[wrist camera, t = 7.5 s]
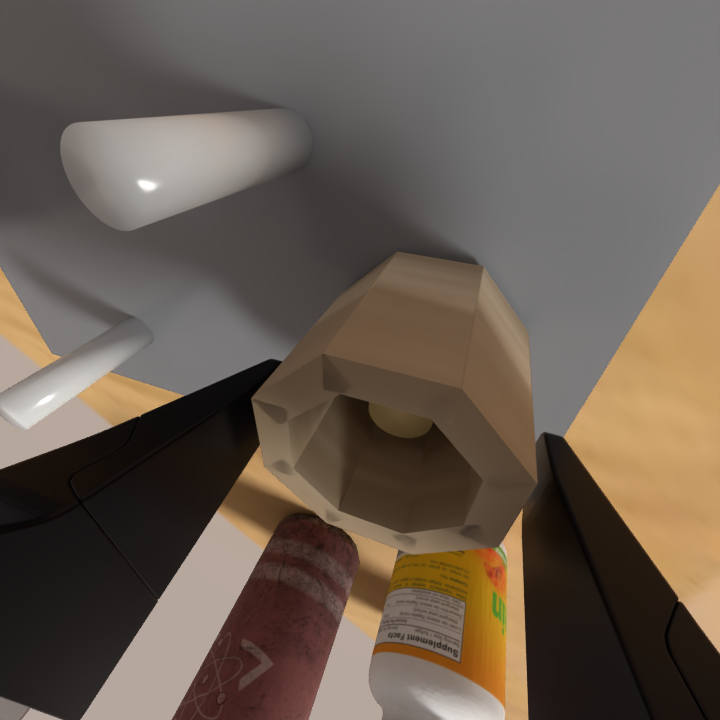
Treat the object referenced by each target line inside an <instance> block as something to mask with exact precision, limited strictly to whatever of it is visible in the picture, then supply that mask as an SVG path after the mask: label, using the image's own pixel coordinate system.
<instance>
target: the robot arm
mask: <svg viewBox="0 0 720 720" xmlns="http://www.w3.org/2000/svg"><path fill="white" fill-rule="evenodd" d="M282 362H283V361H279V360H276V359H268V360H266V361H263V362H261V363H259V364H257V365H254V366H252V367H250V368H247V369H245V370H243V371H241V372H238V373H236V374H234V375H231V376H229V377H227V378H225V379H222V380H220V381H218V382H215V383H213V384H211V385H209V386H206V387H204V388H202V389H199V390H197V391H195V392H193V393H190V394H188V395H186V396H183V397H181V398H179V399H177V400H174V401H172V402H170V403H167V404H165V405H163V406H161V407H158V408H156V409H154V410H151V411H149V412H147V413H144V414H142V415H141V416H140V417H135V418H133V419H131V420H128V421H126V422H124V423H121V424H119V425H117V426H114V427H112V428H109V429H107V430H105V431H102V432H100V433H97V434H95V435H92V436H90V437H87V438H85V439H82V440H80V441H77V442H74V443H71V444H69V445H66V446H63V447H60V448H58V449H55V450H52V451H49V452H47V453H44V454H41V455H39V456H36V457H33V458H31V459H28V460H25V461H22V462H19V463H17V464H14V465H11V466H8V467H6V468H3V469H0V720H21V719H22V718H23V717H24V716H25V714H26V713H27V712H28V711H29V709H30V708H32V709H35V710H37V711H40V712H43V713H46V714H49V715H51V716H54V717H57V718H59V719H62V720H80V719H81V718H82V716H83V715H84V714H85V712H86V711H87V709H88V708H89V706H90V705H91V703H92V701H93V700H94V698H95V697H96V695H97V694H98V692H99V691H100V689H101V688H102V686H103V684H104V683H105V682H106V680H107V678H108V677H109V675H110V674H111V672H112V671H113V669H114V668H115V666H116V664H117V663H118V662H119V660H120V659H121V657H122V655H123V654H124V652H125V651H126V649H127V648H128V646H129V645H130V643H131V642H132V640H133V639H134V637H135V636H136V634H137V632H138V631H139V629H140V628H141V626H142V625H143V623H144V622H145V620H146V619H147V617H148V616H149V614H150V612H151V611H152V610H153V608H154V607H155V605H156V603H157V602H158V600H157V599H159V598H160V597H161V595H162V594H163V592H164V591H165V589H166V588H167V586H168V585H169V583H170V582H171V580H172V578H173V577H174V575H175V574H176V572H177V571H178V569H179V568H180V566H181V564H182V563H183V562H184V560H185V559H186V557H187V556H188V554H189V552H190V551H191V549H192V548H193V546H194V545H195V543H196V542H197V540H198V539H199V537H200V536H201V534H202V533H203V531H204V530H205V528H206V526H207V525H208V523H209V522H210V520H211V519H212V517H213V516H214V514H215V513H216V511H217V510H218V508H219V507H220V505H221V503H222V502H223V500H224V499H225V497H226V496H227V494H228V493H229V491H230V490H231V488H232V487H233V485H234V484H235V482H236V480H237V479H238V477H239V476H240V474H241V473H242V471H243V470H244V468H245V467H246V465H247V464H248V462H249V461H250V459H251V458H252V456H253V454H254V453H255V451H256V450H257V448H258V447H259V445H260V441H259V436H258V431H257V426H256V421H255V415H254V410H253V405H252V400H251V398H252V397H253V395H254V394H255V393H256V392H257V391H258V390H259V388H260V387H261V386H262V385H263V384H264V383H265V381H266V380H267V379H268V378H269V377H270V376H271V374H272V373H273V372H274V371H275V370H276V369H277V367H278V366H279V365H280V364H281V363H282ZM535 447H536V463H537V480H538V484H537V486H536V487H535V489H534V490H533V492H532V494H531V495H530V497H529V499H528V500H527V502H526V503H525V505H524V507H523V515H522V550H523V578H524V605H525V633H526V660H527V688H528V716H529V720H720V653H719V652H718V651H717V649H716V648H715V647H714V645H713V644H712V643H711V641H710V640H709V639H708V637H707V636H706V635H705V633H704V632H703V630H702V629H701V628H700V626H699V625H698V624H697V622H696V621H695V619H694V618H693V617H692V615H691V614H690V613H689V611H688V610H687V608H686V607H685V606H684V604H683V603H682V602H680V601H678V596H677V595H676V593H675V592H674V591H673V589H672V588H671V586H670V585H669V584H668V582H667V581H666V579H665V578H664V577H663V575H662V574H661V572H660V571H659V570H658V568H657V567H656V565H655V564H654V563H653V561H652V560H651V558H650V557H649V556H648V554H647V553H646V551H645V550H644V549H643V547H642V546H641V545H640V543H639V542H638V540H637V539H636V538H635V536H634V535H633V533H632V532H631V531H630V529H629V528H628V526H627V525H626V524H625V522H624V521H623V519H622V518H621V517H620V515H619V514H618V512H617V511H616V510H615V508H614V507H613V506H612V504H611V503H610V501H609V500H608V499H607V497H606V496H605V494H604V493H603V492H602V490H601V489H600V487H599V486H598V485H597V483H596V482H595V480H594V479H593V478H592V476H591V475H590V473H589V472H588V471H587V469H586V468H585V467H584V465H583V464H582V462H581V461H580V460H579V458H578V457H577V455H576V454H575V453H574V451H573V450H572V448H571V447H570V446H569V444H568V443H567V441H566V440H565V439H564V438H563V437H562V436H559V435H556V434H552V433H548V432H543V433H542V434H541V435H540V436H539V438H538V440H537V441H536V443H535Z"/></svg>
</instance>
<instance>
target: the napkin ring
mask: <svg viewBox="0 0 720 720" xmlns="http://www.w3.org/2000/svg"><path fill="white" fill-rule="evenodd" d="M251 400H252V405H253V410H254V415H255V421H256V426H257V431H258V436H259V441H260V447H261V452H262V457H263V462H264V467H266V468H267V469H268V470H269V471H270V472H271V473H272V474H273V475H274V476H275V477H277V478H278V479H279V480H280V481H281V482H282V483H283V484H284V485H285V486H286V487H287V488H289V489H290V490H291V491H292V492H293V493H294V494H295V495H296V496H297V497H298V498H300V499H301V500H302V501H303V502H304V503H305V504H306V505H307V506H308V507H309V508H311V509H312V510H313V511H314V512H315V513H316V514H317V515H318V516H319V517H320V518H321V519H323V520H324V521H325V522H326V523H328V524H331V525H334V526H336V527H339V528H342V529H344V530H347V531H350V532H352V533H355V534H358V535H361V536H363V537H366V538H369V539H371V540H374V541H377V542H379V543H382V544H385V545H388V546H390V547H393V548H396V549H398V550H401V551H404V552H406V553H409V554H424V553H436V552H448V551H461V550H473V549H485V548H497V547H498V548H499V546H500V544H501V543H502V541H503V539H504V538H505V536H506V534H507V533H508V531H509V530H510V528H511V526H512V525H513V523H514V521H515V520H516V518H517V517H518V515H519V513H520V512H521V510H522V508H523V507H524V505H525V503H526V502H527V500H528V499H529V497H530V495H531V494H532V492H533V490H534V489H535V487H536V486H537V484H538V480H537V463H536V447H535V430H534V414H533V397H532V381H531V364H530V348H529V332H528V331H527V330H526V328H525V327H524V325H523V324H522V322H521V321H520V319H519V318H518V316H517V315H516V313H515V312H514V310H513V309H512V308H511V306H510V305H509V303H508V302H507V300H506V299H505V297H504V296H503V294H502V293H501V291H500V290H499V288H498V287H497V285H496V284H495V282H494V281H493V280H492V278H491V277H490V275H489V274H488V272H487V271H486V269H485V268H484V266H479V265H473V264H468V263H462V262H456V261H450V260H444V259H438V258H433V257H427V256H421V255H415V254H409V253H403V252H398V251H397V252H396V253H395V254H393V255H392V256H391V257H389V258H388V259H387V260H385V261H384V262H383V263H381V264H380V265H379V266H377V267H376V268H375V269H373V270H372V271H371V272H369V273H368V274H367V275H365V276H364V277H363V278H361V279H360V280H359V281H357V282H356V283H355V284H353V285H352V286H351V287H349V288H348V289H347V290H345V291H344V292H343V293H341V294H340V295H339V296H338V298H337V299H336V300H335V301H334V302H333V303H332V305H331V306H330V307H329V308H328V309H327V310H326V312H325V313H324V314H323V315H322V316H321V317H320V319H319V320H318V321H317V322H316V323H315V324H314V326H313V327H312V328H311V329H310V330H309V331H308V333H307V334H306V335H305V336H304V337H303V338H302V340H301V341H300V342H299V343H298V344H297V345H296V347H295V348H294V349H293V350H292V351H291V352H290V354H289V355H288V356H287V357H286V358H285V359H284V360H283V362H282V363H281V364H280V365H279V366H278V367H277V369H276V370H275V371H274V372H273V373H272V374H271V376H270V377H269V378H268V379H267V380H266V381H265V383H264V384H263V385H262V386H261V387H260V388H259V390H258V391H257V392H256V393H255V394H254V395H253V397H252V398H251ZM369 402H371V403H375V404H378V405H382V406H386V407H389V408H393V409H396V410H400V411H404V412H407V413H411V414H415V415H418V416H422V417H425V418H429V419H432V421H433V424H432V427H431V428H430V430H429V431H428V432H427V433H425V434H424V435H422V436H419V437H416V438H402V437H397V436H394V435H391V434H389V433H387V432H385V431H384V430H382V429H381V428H380V427H378V426H377V425H376V423H375V422H374V421H373V419H372V418H371V416H370V413H369Z"/></svg>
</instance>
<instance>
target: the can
mask: <svg viewBox="0 0 720 720" xmlns="http://www.w3.org/2000/svg"><path fill="white" fill-rule="evenodd" d="M359 563H360V562H359V557H358V551H357V547H356V545H355V543H354V542H353V540H352V539H351V538H350V537H349V536H348V535H347V534H346V533H345V532H344V531H343V530H341V529H340V528H338V527H336V526H334V525H331V524H328V523H326V522H325V521H324V520H323V519H321V518H318V517H314V516H310V515H304V514H296V515H292V516H289V517H288V518H286V519H284V520H283V521H282V522H281V523H279V524H278V526H277V528H276V529H275V531H274V533H273V535H272V537H271V539H270V540H269V542H268V544H267V546H266V548H265V550H264V551H263V553H262V555H261V557H260V559H259V561H258V563H257V564H256V566H255V568H254V570H253V572H252V574H251V575H250V577H249V579H248V581H247V583H246V585H245V586H244V588H243V590H242V592H241V594H240V596H239V597H238V599H237V601H236V603H235V605H234V607H233V608H232V610H231V612H230V614H229V616H228V618H227V620H226V621H225V623H224V625H223V627H222V629H221V631H220V632H219V634H218V636H217V638H216V640H215V641H214V643H213V645H212V647H211V649H210V651H209V653H208V654H207V656H206V658H205V660H204V662H203V664H202V666H201V667H200V669H199V671H198V673H197V675H196V676H195V678H194V680H193V682H192V684H191V686H190V687H189V689H188V691H187V693H186V695H185V697H184V699H183V700H182V702H181V704H180V706H179V708H178V710H177V711H176V713H175V715H174V717H173V719H172V720H308V719H309V716H310V713H311V710H312V707H313V704H314V701H315V698H316V695H317V691H318V688H319V685H320V682H321V679H322V676H323V673H324V670H325V667H326V664H327V661H328V657H329V655H330V652H331V649H332V646H333V642H334V639H335V636H336V633H337V630H338V627H339V624H340V621H341V618H342V615H343V612H344V609H345V606H346V603H347V600H348V597H349V594H350V591H351V588H352V585H353V582H354V578H355V575H356V572H357V569H358V566H359Z"/></svg>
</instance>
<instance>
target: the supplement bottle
mask: <svg viewBox="0 0 720 720" xmlns="http://www.w3.org/2000/svg"><path fill="white" fill-rule="evenodd" d="M506 597H507V554H506V549H505V546H504V544H503V542H502V543H501V544H500V546H499V548H498V547H497V548H485V549H473V550H461V551H448V552H436V553H424V554H409V553H406V552H404V551H401V550H398V554H397V558H396V562H395V566H394V570H393V574H392V578H391V582H390V586H389V590H388V594H387V598H386V602H385V606H384V610H383V614H382V618H381V622H380V627H379V631H378V634H377V638H376V642H375V646H374V650H373V654H372V658H371V664H370V669H369V685H370V689H371V692H372V694H373V697H374V698H375V700H376V701H377V703H378V704H379V705H380V706H381V707H382V710H383V717H382V720H504V717H505V673H506Z"/></svg>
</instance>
